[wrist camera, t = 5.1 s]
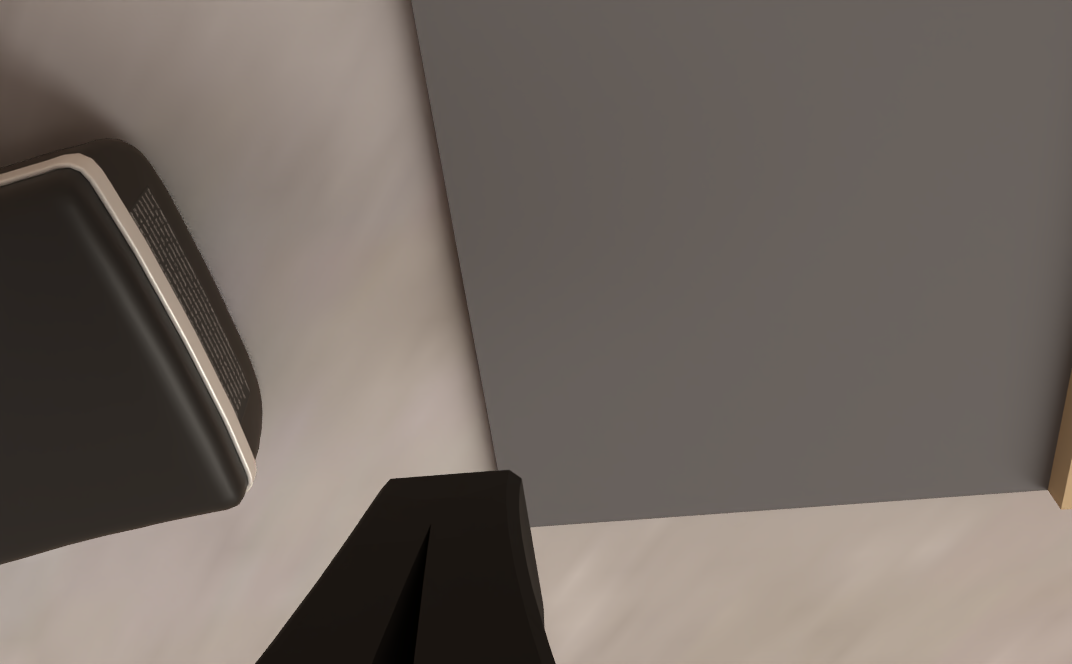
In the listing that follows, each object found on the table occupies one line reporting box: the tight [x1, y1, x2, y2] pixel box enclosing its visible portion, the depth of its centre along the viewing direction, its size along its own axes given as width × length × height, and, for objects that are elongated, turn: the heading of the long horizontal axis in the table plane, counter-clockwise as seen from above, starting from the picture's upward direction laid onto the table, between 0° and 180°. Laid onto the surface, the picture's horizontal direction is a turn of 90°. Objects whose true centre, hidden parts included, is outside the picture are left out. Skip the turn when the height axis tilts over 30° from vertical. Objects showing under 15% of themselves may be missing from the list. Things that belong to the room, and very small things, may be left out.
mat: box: [411, 0, 1072, 527], centre depth 16 cm, size 12×14×1 cm
